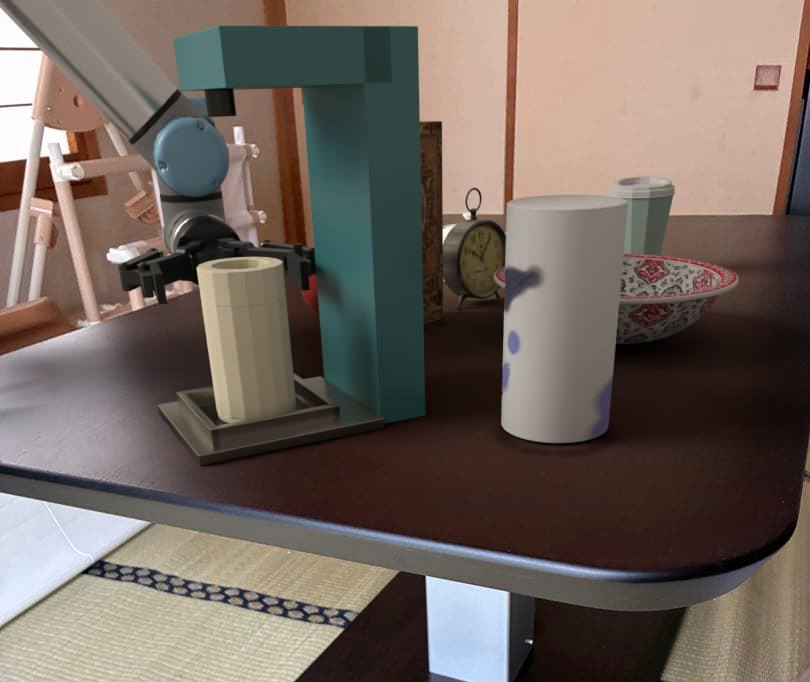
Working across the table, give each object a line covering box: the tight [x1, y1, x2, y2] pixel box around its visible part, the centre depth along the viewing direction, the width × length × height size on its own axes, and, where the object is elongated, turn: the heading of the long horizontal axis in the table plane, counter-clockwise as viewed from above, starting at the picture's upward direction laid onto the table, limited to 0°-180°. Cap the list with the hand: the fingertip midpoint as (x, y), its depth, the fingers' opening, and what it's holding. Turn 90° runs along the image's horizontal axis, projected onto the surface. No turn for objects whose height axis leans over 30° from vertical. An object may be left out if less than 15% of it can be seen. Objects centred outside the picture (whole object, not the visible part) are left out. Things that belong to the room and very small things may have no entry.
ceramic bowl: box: [494, 254, 739, 345], centre depth 105 cm, size 29×29×8 cm
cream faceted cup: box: [197, 257, 296, 423], centre depth 79 cm, size 8×8×14 cm
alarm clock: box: [443, 187, 506, 310], centre depth 122 cm, size 11×5×16 cm, turn 131°
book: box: [420, 120, 444, 325], centre depth 110 cm, size 16×6×25 cm, turn 137°
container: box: [500, 194, 628, 444], centre depth 75 cm, size 10×10×20 cm
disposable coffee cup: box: [608, 175, 676, 256], centre depth 139 cm, size 11×11×15 cm
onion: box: [300, 275, 319, 315], centre depth 121 cm, size 6×6×8 cm
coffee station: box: [157, 25, 426, 467], centre depth 76 cm, size 16×23×33 cm
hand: (234, 282), depth 79 cm, fingers open, 13 cm apart
